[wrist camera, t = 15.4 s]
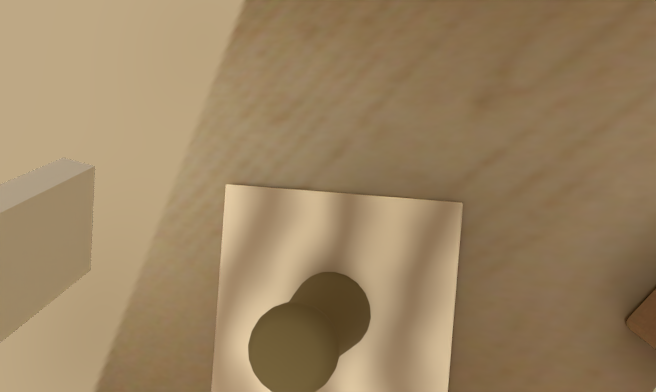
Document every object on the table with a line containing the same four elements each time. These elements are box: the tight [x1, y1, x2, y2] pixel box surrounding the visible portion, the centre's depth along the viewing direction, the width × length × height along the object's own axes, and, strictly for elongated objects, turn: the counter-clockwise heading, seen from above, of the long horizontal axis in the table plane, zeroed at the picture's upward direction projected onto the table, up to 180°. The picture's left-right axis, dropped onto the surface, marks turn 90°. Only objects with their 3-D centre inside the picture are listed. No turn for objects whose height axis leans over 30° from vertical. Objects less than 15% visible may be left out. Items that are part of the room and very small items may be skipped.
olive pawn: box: [248, 272, 371, 392], centre depth 32 cm, size 6×6×11 cm
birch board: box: [211, 184, 463, 392], centre depth 39 cm, size 18×18×2 cm
